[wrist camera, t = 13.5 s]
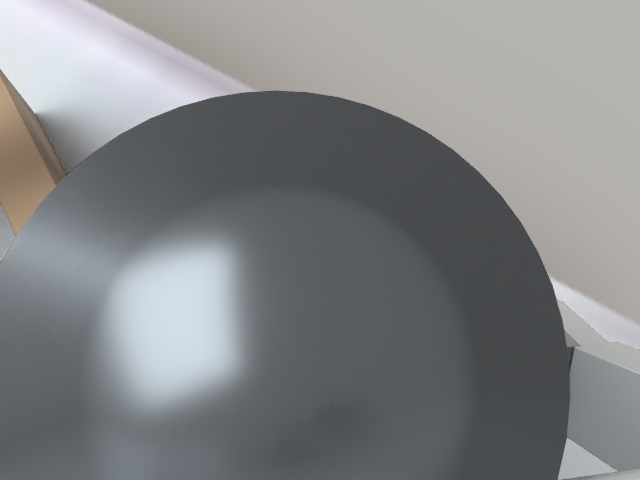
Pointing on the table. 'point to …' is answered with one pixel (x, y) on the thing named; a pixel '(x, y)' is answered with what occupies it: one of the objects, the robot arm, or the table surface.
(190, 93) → the table surface
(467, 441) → the plunger
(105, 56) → the table surface
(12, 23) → the table surface
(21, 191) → the bore block
